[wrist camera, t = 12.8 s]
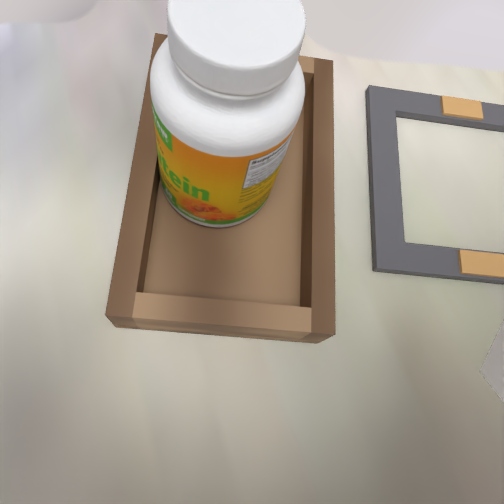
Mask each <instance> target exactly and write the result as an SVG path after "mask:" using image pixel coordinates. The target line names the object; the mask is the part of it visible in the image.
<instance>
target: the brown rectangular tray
mask: <svg viewBox="0 0 504 504" xmlns="http://www.w3.org/2000/svg"><path fill="white" fill-rule="evenodd" d="M167 37H168V36H167V35H164V34H157V33H155V37H154V43H153V48H152V54H151V60H150V65H149V71H148V77H147V82H146V88H145V94H144V99H143V105H142V111H141V116H140V122H139V127H138V133H137V139H136V144H135V150H134V156H133V161H132V167H131V173H130V178H129V184H128V189H127V195H126V201H125V206H124V212H123V218H122V223H121V229H120V235H119V240H118V246H117V252H116V257H115V263H114V268H113V274H112V280H111V285H110V291H109V297H108V302H107V308H106V314H105V316H106V317H107V318H108V319H109V320H110V321H111V322H112V323H113V324H114V326H115V327H120V328H132V329H145V330H157V331H170V332H182V333H194V334H207V335H219V336H232V337H244V338H257V339H269V340H281V341H294V342H306V343H319V342H321V341H323V340H325V339H327V338H329V337H331V336H333V335H335V223H334V108H333V61H332V60H325V59H319V58H312V57H306V56H300V55H299V58H298V62H299V64H300V66H301V69H302V72H303V76H304V81H305V97H304V103H303V107H302V111H301V114H300V117H299V119H298V122H297V125H296V127H295V130H294V132H293V135H292V138H291V140H290V143H289V145H288V148H287V151H286V153H285V156H284V159H283V161H282V164H281V166H280V169H279V172H278V174H277V177H276V179H275V182H274V184H273V187H272V190H271V192H270V194H269V196H268V198H267V200H266V202H265V204H264V205H263V207H262V208H261V209H260V210H259V211H258V212H257V213H256V214H255V215H254V216H252V217H251V218H249V219H248V220H246V221H244V222H242V223H240V224H237V225H234V226H229V227H208V226H203V225H200V224H197V223H194V222H192V221H190V220H188V219H187V218H185V217H184V216H182V215H181V214H180V213H178V212H177V211H176V210H175V209H174V208H173V206H172V205H171V204H170V203H169V201H168V199H167V198H166V196H165V193H164V191H163V188H162V184H161V179H160V172H159V161H158V152H157V143H156V134H155V125H154V116H153V109H152V101H151V91H150V72H151V66H152V62H153V59H154V57H155V55H156V52H157V51H158V49H159V48H160V46H161V44H162V43H163V42H164V40H165V39H166V38H167Z"/></svg>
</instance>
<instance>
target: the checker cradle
mask: <svg viewBox="0 0 504 504" xmlns="http://www.w3.org/2000/svg"><path fill="white" fill-rule="evenodd" d="M366 111H367V135H368V160H369V184H370V209H371V234H372V258H373V271H377V272H387V273H397V274H407V275H417V276H427V277H437V278H447V279H457V280H467V281H476V282H486V283H496V284H504V253H497V252H488V251H479V250H470V249H460V248H451V247H442V246H433V245H424V244H415V243H406V242H405V240H404V226H403V211H402V197H401V182H400V168H399V153H398V139H397V124H396V117H403V118H410V119H417V120H424V121H431V122H438V123H445V124H452V125H459V126H466V127H473V128H480V129H487V130H494V131H501V132H504V105H498V104H492V103H485V102H481V101H475V100H469V99H462V98H455V97H449V96H438V95H432V94H425V93H418V92H412V91H405V90H398V89H392V88H385V87H378V86H372V85H369V86H368V88H367V90H366Z"/></svg>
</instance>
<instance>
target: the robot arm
mask: <svg viewBox="0 0 504 504" xmlns="http://www.w3.org/2000/svg"><path fill="white" fill-rule="evenodd" d="M480 373H481V374H482V375H483V377H484V378H485V379H486V381H487V382H488V383H489V384H490V386H491V387H492V388H493V390H494V391H495V392H496V394H497V395H498V396H499V398H500V399H501V400H502V401H503V403H504V320H503V322H502V324H501V327H500V329H499V331H498V333H497V335H496V337H495V339H494V342H493V344H492V346H491V348H490V350H489V352H488V354H487V357H486V359H485V361H484V363H483V365H482V367H481V369H480Z"/></svg>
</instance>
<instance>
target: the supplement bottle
mask: <svg viewBox="0 0 504 504" xmlns="http://www.w3.org/2000/svg"><path fill="white" fill-rule="evenodd" d="M305 29H306V17H305V12H304V8H303V5H302V3H301V1H300V0H168V2H167V36H168V37H167V38H166V39H165V40H164V42H163V43H162V44H161V46H160V48H159V49H158V51H157V52H156V55H155V57H154V59H153V62H152V66H151V72H150V91H151V101H152V109H153V116H154V125H155V134H156V143H157V152H158V161H159V172H160V179H161V184H162V188H163V191H164V193H165V196H166V198H167V199H168V201H169V203H170V204H171V205H172V206H173V208H174V209H175V210H176V211H177V212H178V213H180V214H181V215H182V216H184V217H185V218H187V219H188V220H190V221H192V222H194V223H197V224H200V225H203V226H208V227H229V226H234V225H237V224H240V223H242V222H244V221H246V220H248V219H249V218H251V217H252V216H254V215H255V214H256V213H257V212H258V211H259V210H260V209H261V208H262V207H263V205H264V204H265V202H266V200H267V198H268V196H269V194H270V192H271V190H272V187H273V184H274V182H275V179H276V177H277V174H278V172H279V169H280V166H281V164H282V161H283V159H284V156H285V153H286V151H287V148H288V145H289V143H290V140H291V138H292V135H293V132H294V130H295V127H296V125H297V122H298V119H299V117H300V114H301V111H302V107H303V103H304V97H305V81H304V76H303V72H302V69H301V66H300V64H299V62H298V58H299V53H300V50H301V46H302V42H303V38H304V35H305Z"/></svg>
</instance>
